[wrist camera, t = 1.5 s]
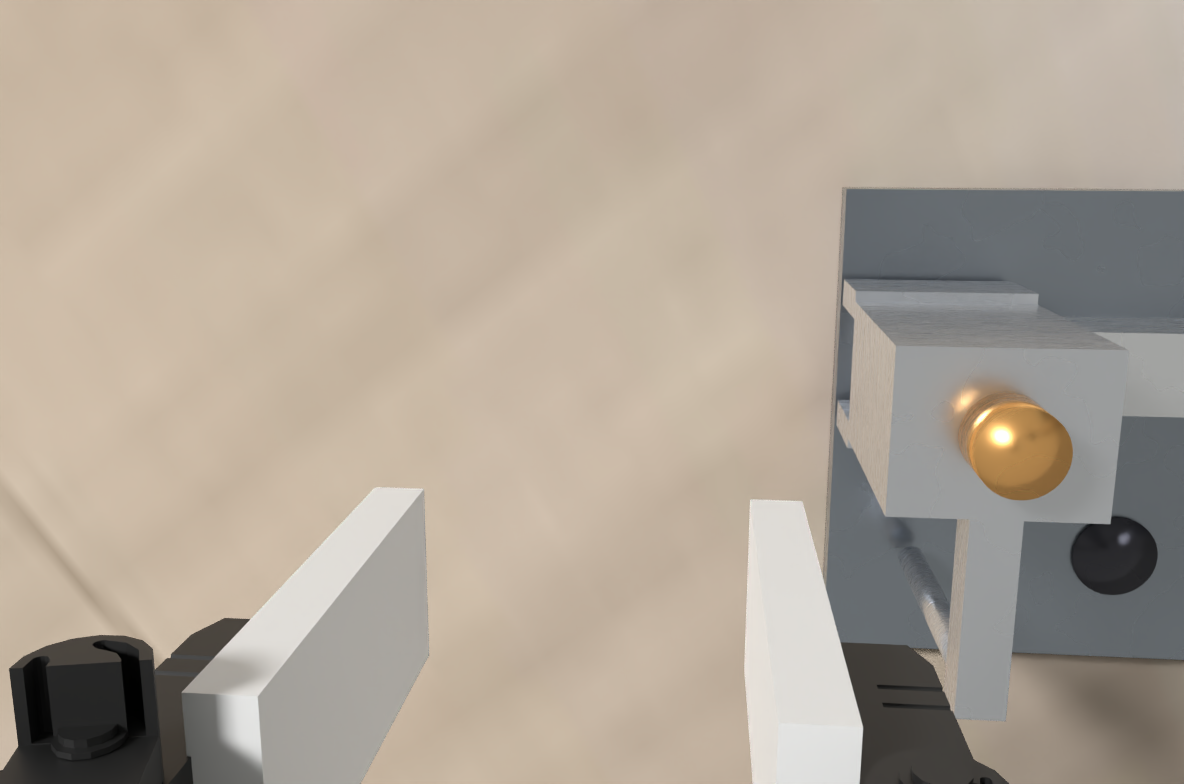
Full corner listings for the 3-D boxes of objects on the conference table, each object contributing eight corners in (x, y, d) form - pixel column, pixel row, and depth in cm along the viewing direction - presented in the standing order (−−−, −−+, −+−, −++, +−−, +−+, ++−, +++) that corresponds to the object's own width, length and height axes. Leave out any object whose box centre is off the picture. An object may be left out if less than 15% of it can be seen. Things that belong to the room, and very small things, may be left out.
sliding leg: (1012, 281, 34) (1159, 350, 23) (987, 571, 36) (1112, 761, 25) (844, 279, 35) (909, 344, 24) (829, 565, 37) (882, 749, 26)
